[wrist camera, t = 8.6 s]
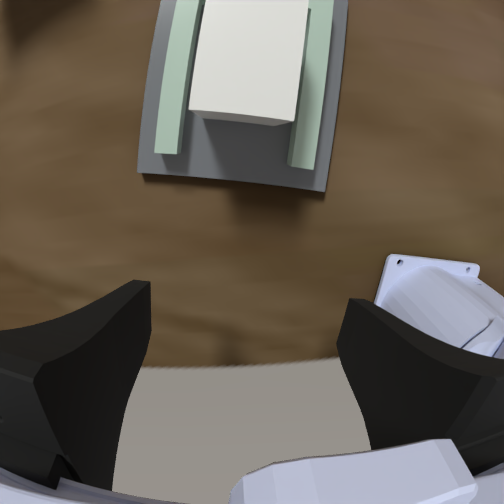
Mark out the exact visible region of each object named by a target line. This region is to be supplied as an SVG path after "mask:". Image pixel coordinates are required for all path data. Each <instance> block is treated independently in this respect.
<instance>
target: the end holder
mask: <svg viewBox="0 0 504 504" xmlns="http://www.w3.org/2000/svg"><path fill="white" fill-rule="evenodd" d="M205 2H206V0H161V4H160V8H159V13H158V18H157V23H156V28H155V33H154V38H153V43H152V49H151V55H150V61H149V67H148V74H147V80H146V88H145V95H144V103H143V111H142V120H141V130H140V141H139V153H138V166H137V173H152V174H166V175H180V176H192V177H203V178H214V179H224V180H234V181H243V182H252V183H261V184H269V185H277V186H285V187H293V188H300V189H307V190H314V191H321V192H325V188H326V182H327V176H328V169H329V163H330V156H331V150H332V143H333V136H334V129H335V122H336V114H337V107H338V99H339V90H340V82H341V73H342V64H343V54H344V44H345V33H346V21H347V8H348V0H309V4H308V13H307V21H306V30H305V39H304V47H303V55H302V64H301V72H300V80H299V88H298V95H297V103H296V111H295V118H294V121H293V122H289V123H285V124H281V125H277V126H269V125H261V124H254V123H245V122H236V121H227V120H216V119H204V118H201V117H200V116H198V115H196V114H195V113H193V112H192V111H190V110H189V101H190V94H191V86H192V79H193V72H194V66H195V59H196V53H197V47H198V41H199V35H200V29H201V23H202V18H203V12H204V7H205Z"/></svg>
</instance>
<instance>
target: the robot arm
mask: <svg viewBox="0 0 504 504" xmlns="http://www.w3.org/2000/svg"><path fill="white" fill-rule="evenodd" d="M398 260H401V262H400V263H399V264H397V262H398ZM466 269H467V270H466ZM479 270H480V267H479V265H477V264H475V263H467V262H458V261H450V260H442V259H433V258H425V257H416V256H408V255H399V254H391V255H389V256H388V257H387V259H386V262H385V266H384V269H383V273H382V277H381V280H380V284H379V287H378V291H377V294H376V297H375V301H374V303H372V302H370V301H367V300H365V299H353V298H349V302H348V305H347V309H346V312H345V316H344V319H343V323H342V326H341V330H340V333H339V336H338V339H337V343H336V344H337V349H338V353H339V357H340V361H341V364H342V367H343V369H344V372H345V374H346V377H347V379H348V381H349V383H350V386H351V388H352V390H353V393H354V395H355V398H356V400H357V402H358V405H359V407H360V409H361V412H362V415H363V418H364V421H365V425H366V429H367V432H368V436H369V440H370V445H371V450H370V451H363V452H355V453H348V454H338V455H327V456H316V457H315V456H314V457H303V458H298V459H292V460H286V461H280V462H273V463H271V464H269V465H267V466H264V467H262V468H260V469H257V470H255V471H252V472H250V473H247V474H246V475H245V476H243V477H242V478H241V480H240V481H239V482H238V483H237V484H236V485H235V486H234V488H233V489H232V490H231V493H230V498H229V503H228V504H504V297H503V296H501V295H500V294H499V293H497V292H496V291H495V290H493V289H492V288H491V287H489V286H488V285H486V284H485V283H484V282H482V281H481V280H480V279H478V278H477V277H478V274H479ZM151 331H152V330H151V287H150V282H149V281H140V280H132V281H130V282H128V283H126V284H125V285H123V286H121V287H119V288H118V289H116V290H114V291H112V292H111V293H109V294H107V295H105V296H104V297H102V298H100V299H98V300H96V301H94V302H92V303H90V304H89V305H87V306H85V307H83V308H81V309H79V310H76V311H74V312H72V313H69V314H67V315H64V316H61V317H59V318H56V319H53V320H49V321H46V322H42V323H39V324H35V325H31V326H27V327H22V328H16V329H10V330H2V331H0V504H185V503H177V502H169V501H161V500H155V499H149V498H143V497H137V496H132V495H127V494H122V493H117V492H113V491H112V484H113V474H114V468H115V461H116V454H117V448H118V442H119V437H120V432H121V427H122V422H123V418H124V413H125V409H126V406H127V402H128V399H129V396H130V393H131V391H132V388H133V386H134V383H135V380H136V378H137V375H138V373H139V370H140V368H141V365H142V362H143V360H144V357H145V355H146V352H147V348H148V344H149V339H150V335H151Z"/></svg>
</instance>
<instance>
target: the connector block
mask: <svg viewBox="0 0 504 504" xmlns="http://www.w3.org/2000/svg"><path fill="white" fill-rule="evenodd" d="M308 4H309V0H206V2H205V7H204V12H203V18H202V23H201V29H200V35H199V41H198V47H197V53H196V59H195V66H194V72H193V79H192V86H191V94H190V101H189V110H190V111H192V112H193V113H195V114H196V115H198V116H200V117H201V118H204V119H216V120H227V121H236V122H245V123H254V124H261V125H269V126H277V125H281V124H285V123H289V122H293V121H294V118H295V111H296V103H297V95H298V88H299V80H300V72H301V64H302V55H303V47H304V39H305V30H306V21H307V13H308Z"/></svg>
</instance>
